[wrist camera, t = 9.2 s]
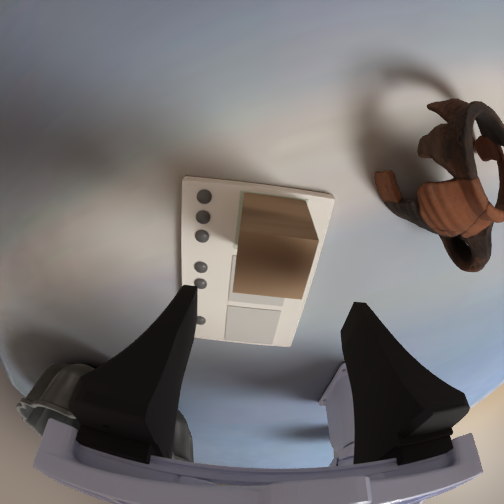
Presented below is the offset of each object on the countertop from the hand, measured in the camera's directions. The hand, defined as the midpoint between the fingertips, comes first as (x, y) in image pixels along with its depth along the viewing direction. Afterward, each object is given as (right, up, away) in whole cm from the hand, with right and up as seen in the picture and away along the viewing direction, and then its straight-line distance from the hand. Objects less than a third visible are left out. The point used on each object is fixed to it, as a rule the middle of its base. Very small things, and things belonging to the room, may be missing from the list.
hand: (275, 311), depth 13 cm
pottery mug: (+12, +9, +5) cm, 16 cm away
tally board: (-1, +1, +10) cm, 10 cm away
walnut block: (0, +5, +7) cm, 8 cm away
